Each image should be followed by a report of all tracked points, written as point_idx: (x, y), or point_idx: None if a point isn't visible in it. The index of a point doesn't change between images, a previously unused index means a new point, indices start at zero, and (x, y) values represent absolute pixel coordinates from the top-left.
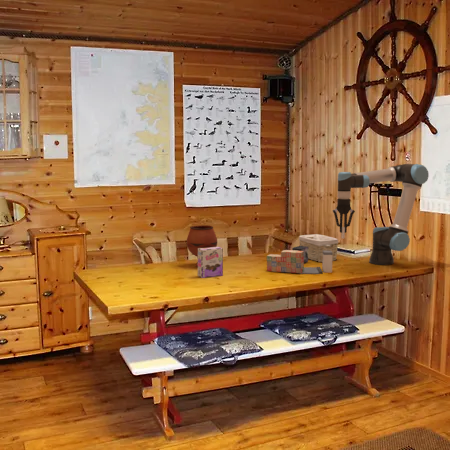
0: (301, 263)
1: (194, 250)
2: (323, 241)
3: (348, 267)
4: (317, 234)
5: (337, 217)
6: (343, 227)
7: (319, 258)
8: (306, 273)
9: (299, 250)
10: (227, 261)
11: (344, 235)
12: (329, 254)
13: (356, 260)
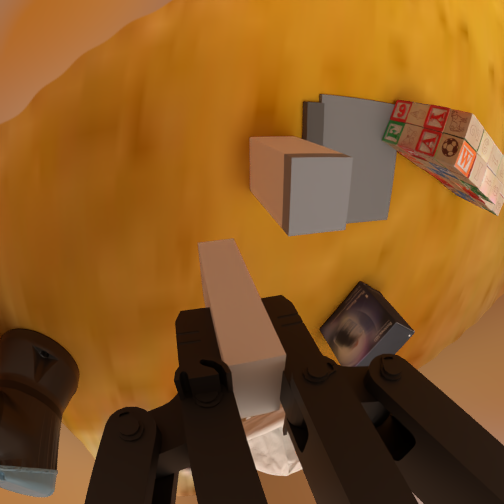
0: (424, 112)
1: None
2: None
3: (151, 267)
4: (284, 474)
5: (501, 494)
6: (256, 367)
7: None
8: (375, 101)
9: (394, 318)
10: (488, 282)
11: (204, 265)
12: (307, 153)
13: (129, 387)
